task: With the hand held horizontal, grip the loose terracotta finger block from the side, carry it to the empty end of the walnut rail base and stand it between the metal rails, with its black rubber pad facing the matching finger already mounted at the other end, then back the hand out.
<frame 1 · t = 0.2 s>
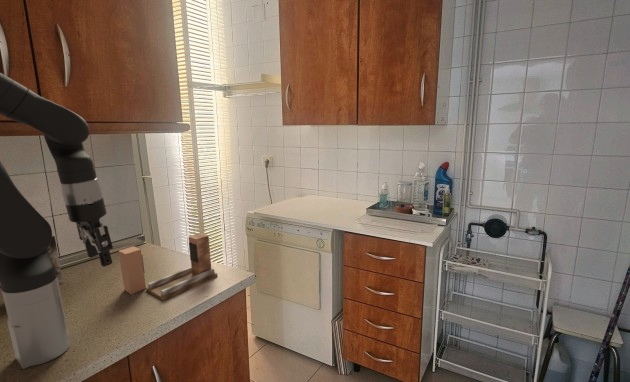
hand: (100, 260, 83), 17 cm above the countertop, tool pointing down, fingers open, 8 cm apart
coffee box: (42, 288, 105), on the countertop
rail base: (183, 283, 106), on the countertop
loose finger: (135, 289, 103), on the countertop
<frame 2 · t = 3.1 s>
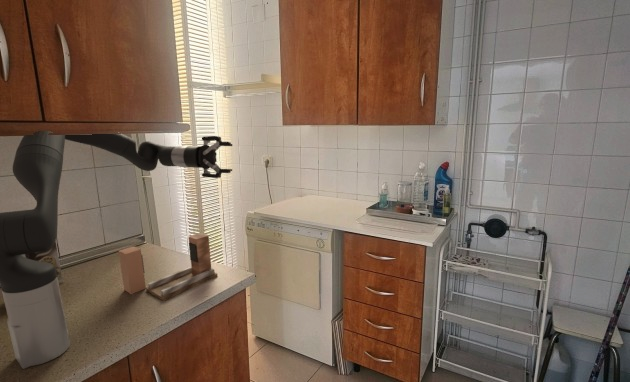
hand: (231, 157, 112), 39 cm above the countertop, tool horizontal, fingers open, 8 cm apart
nothing on the countertop moved.
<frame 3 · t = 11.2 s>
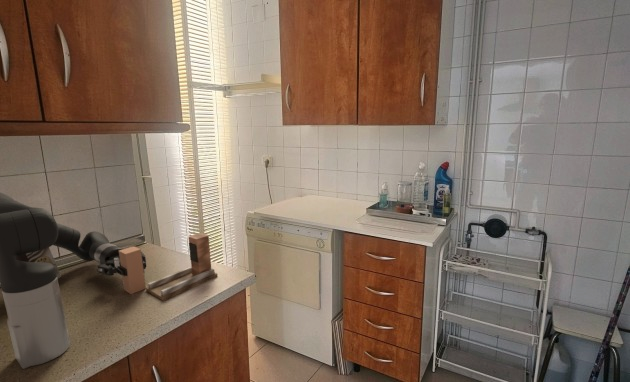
hand: (135, 269, 101), 7 cm above the countertop, tool horizontal, fingers closed on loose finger, 5 cm apart
coffee box: (41, 284, 104), point 1 cm above the countertop, touching arm
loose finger: (135, 289, 103), on the countertop, touching gripper
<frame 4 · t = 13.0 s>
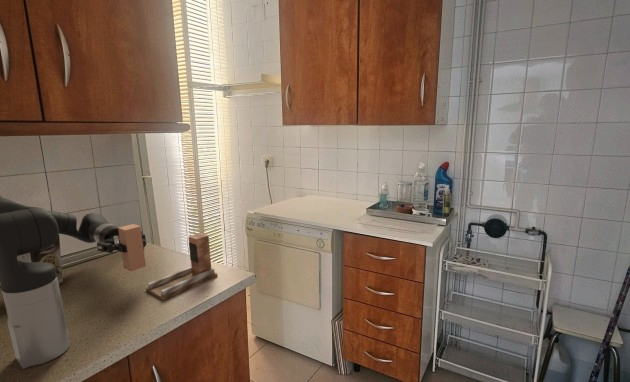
hand: (135, 246, 100), 14 cm above the countertop, tool horizontal, fingers closed on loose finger, 5 cm apart
coffee box: (42, 287, 105), on the countertop
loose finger: (135, 267, 102), point 7 cm above the countertop, touching gripper
when the fingers open (9 cm above the countertop, at t = 18.1 s): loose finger drops 1 cm, resting on rail base.
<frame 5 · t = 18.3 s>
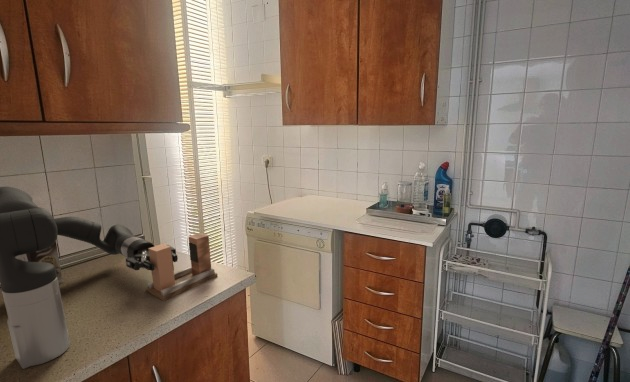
hand: (164, 263, 99), 9 cm above the countertop, tool horizontal, fingers open, 6 cm apart
coffee box: (42, 288, 105), on the countertop, touching arm
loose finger: (164, 287, 102), point 1 cm above the countertop, touching rail base
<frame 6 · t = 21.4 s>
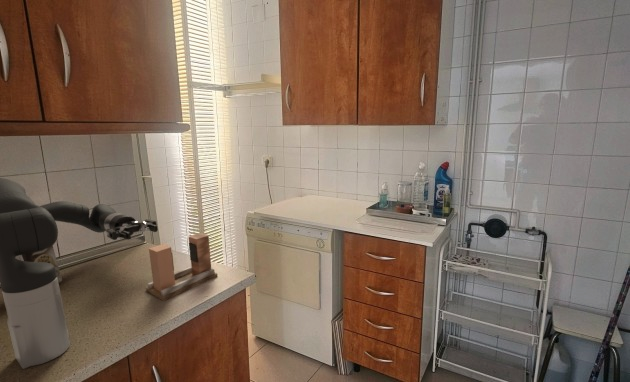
hand: (143, 232, 106), 16 cm above the countertop, tool horizontal, fingers open, 8 cm apart
coffee box: (42, 287, 105), on the countertop
everything else where it was.
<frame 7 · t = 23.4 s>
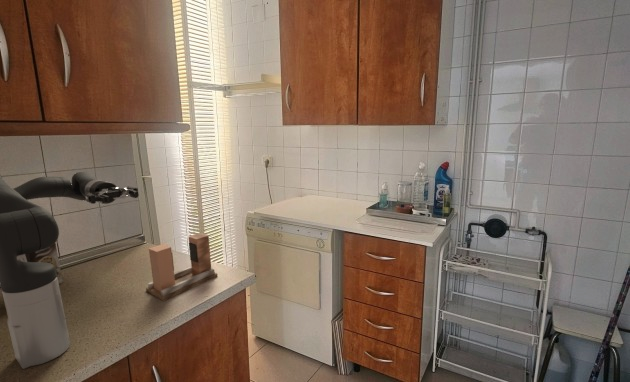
hand: (122, 197, 104), 28 cm above the countertop, tool horizontal, fingers open, 8 cm apart
at the end: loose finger 0.5 cm from the target spot on the rail base, point 1.0 cm above the rail base's base; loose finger tilted 0°; the gripper is holding nothing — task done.
